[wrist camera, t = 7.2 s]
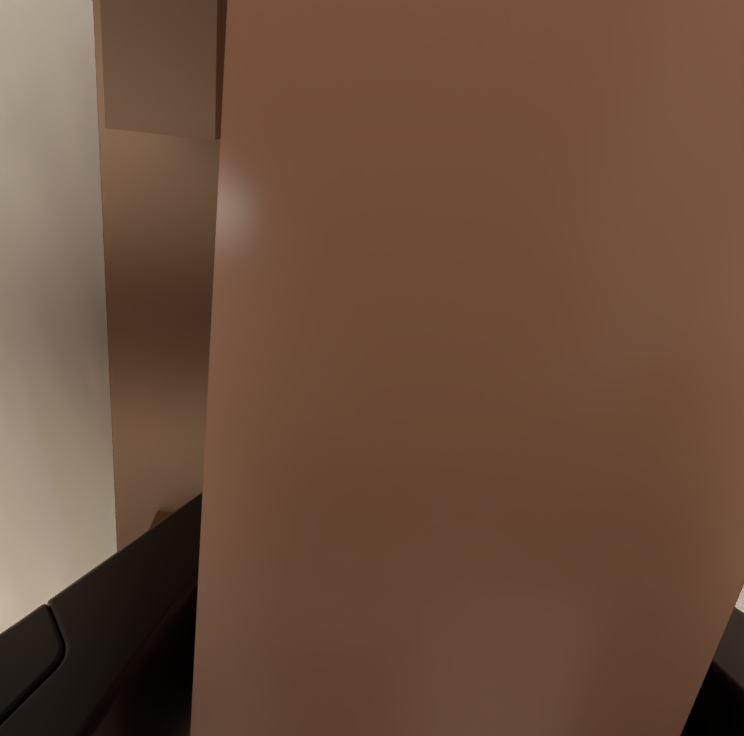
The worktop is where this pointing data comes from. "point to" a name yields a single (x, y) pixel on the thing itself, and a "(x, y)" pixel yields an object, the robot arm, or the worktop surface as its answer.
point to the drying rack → (158, 241)
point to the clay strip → (473, 368)
